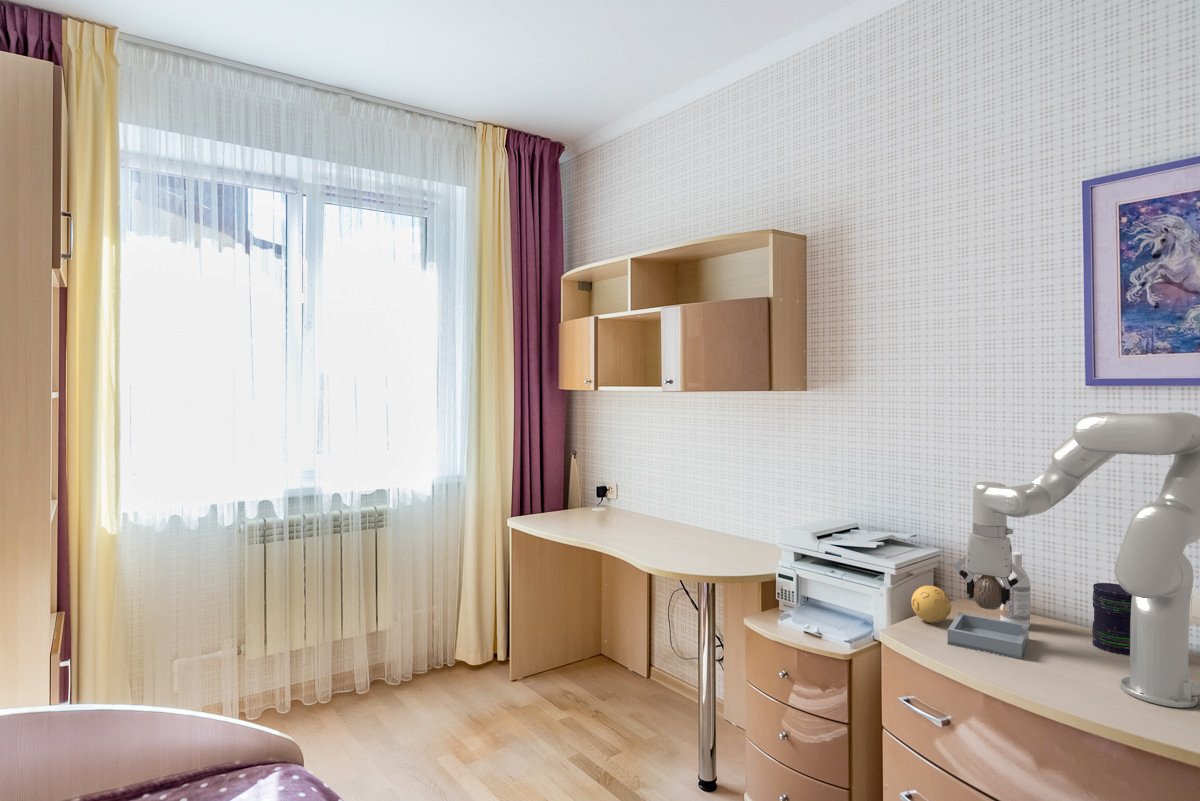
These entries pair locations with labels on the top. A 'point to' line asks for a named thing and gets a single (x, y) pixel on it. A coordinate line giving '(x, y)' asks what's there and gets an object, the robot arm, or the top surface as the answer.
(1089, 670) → the top surface
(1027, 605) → the bath foam
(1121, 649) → the storage jar
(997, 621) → the bin
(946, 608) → the stress ball
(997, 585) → the vase
